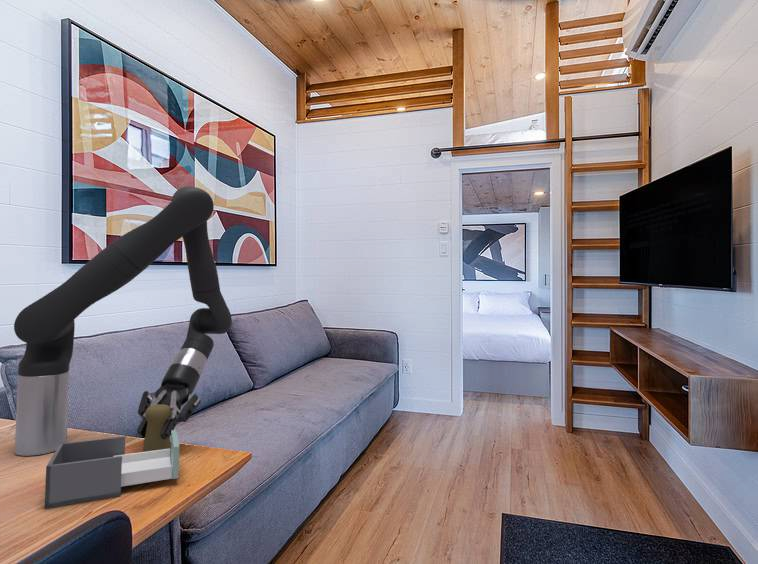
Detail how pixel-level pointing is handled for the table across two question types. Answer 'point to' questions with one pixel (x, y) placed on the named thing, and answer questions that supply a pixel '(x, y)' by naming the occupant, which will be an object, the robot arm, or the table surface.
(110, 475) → the box
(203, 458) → the table surface
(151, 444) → the cork
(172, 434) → the drawer
